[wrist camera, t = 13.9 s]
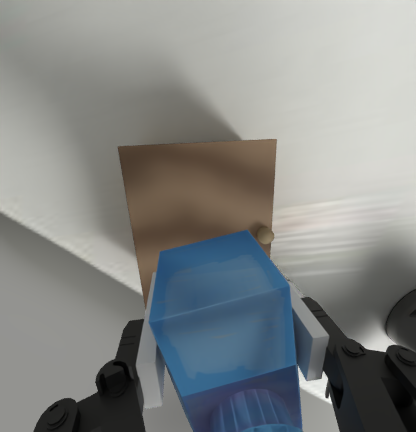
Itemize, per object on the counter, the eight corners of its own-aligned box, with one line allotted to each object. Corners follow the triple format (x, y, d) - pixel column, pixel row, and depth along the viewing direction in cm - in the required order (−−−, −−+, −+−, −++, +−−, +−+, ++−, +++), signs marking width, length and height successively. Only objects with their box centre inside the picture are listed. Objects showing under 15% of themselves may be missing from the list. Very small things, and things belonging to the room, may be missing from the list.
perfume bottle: (247, 229, 15) (437, 479, 4) (258, 299, 17) (404, 589, 6) (159, 251, 15) (106, 585, 4) (182, 320, 17) (190, 661, 6)
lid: (264, 299, 27) (269, 310, 26) (148, 311, 26) (145, 322, 25) (272, 139, 21) (280, 139, 19) (121, 146, 20) (114, 146, 18)
